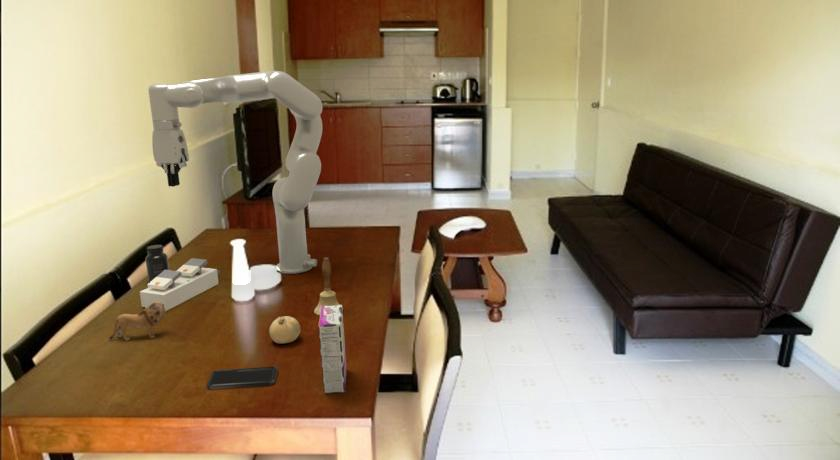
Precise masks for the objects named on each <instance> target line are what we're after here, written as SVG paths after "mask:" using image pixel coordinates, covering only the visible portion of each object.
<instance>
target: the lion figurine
mask: <svg viewBox="0 0 840 460" xmlns="http://www.w3.org/2000/svg"><path fill="white" fill-rule="evenodd" d="M166 312H167V311H165V308H164V303H161V302H159V301H156V302H154V303H152V304H151V305H150V306H149V307H148V308H143V310H142V311H141V312H140V313H136V314H132V313H131V314H130V313H123V314H120V315H118V316H117V317H116V319H115V321H114V327H113V333H112V335H110V336H109V338H108V340H112V339H113V338H114V337H115V336H116V337H117V338H122V337H123V339H124V340H125V341H127V342H128V341H130V340H131V337H129V336H127V335H126V333H127V330H128V326H130V327H131V328H137V329H138V328H139V329H140V328H146V330H147V333H148V337H149V338H151V339H153V338H155V331H153V327H154V326H157V325H159V323H160V322H161V320H163V318H165V315H166ZM120 332H121V333H120Z"/></svg>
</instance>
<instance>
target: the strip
mask: <svg viewBox="0 0 840 460" xmlns="http://www.w3.org/2000/svg"><path fill="white" fill-rule="evenodd" d="M219 275H221V271H220V270H219V269H217V268H210V267H208V268H207V267H203V268H202V269H201V271H198V272H197V273H196V274H195V275H193V276H184V275H181V276H180V277H179V278H178V279H177V280H175V281H174V282H175V283H174V284H171V285H170V286H169V287H167V288H166V289H165V290H161V289H154V288H148V287H147V288H145V289H142V290H140V291H139V297H140V302H141V303H140V304H141V307H145V308H144V309H146V308H148V307H149V306H150V305H151V304H152V303H154V302H156V301H159V302H161V303H164V308H165V311H166V312H167V311H169V310H171V309H174V308H175V307H178V306H179V305H181V304H182V303H185V302H187V301H188V300H190V299H192V298H194V297H196V296H198V295H201V294H202V293H204V292H205V291H208V290H210V289H211V288H213V287H215V286H218V285H219Z"/></svg>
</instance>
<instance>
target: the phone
mask: <svg viewBox="0 0 840 460" xmlns="http://www.w3.org/2000/svg"><path fill="white" fill-rule="evenodd" d="M278 372H279V371H278V367H277V366H265V367H264V366H261V367H260V366H259V367H248V368H247V367H244V368H228V369H226V368H225V369H216V370H213V371H212V372H211V374H210V376H209V378H208V380H207V381H206V382H207V383H206V389H207V390H222V389H239V388H253V387H255V388H257V387H271V386H273V385H274V384H275V383H276V379H277V375H278Z"/></svg>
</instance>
